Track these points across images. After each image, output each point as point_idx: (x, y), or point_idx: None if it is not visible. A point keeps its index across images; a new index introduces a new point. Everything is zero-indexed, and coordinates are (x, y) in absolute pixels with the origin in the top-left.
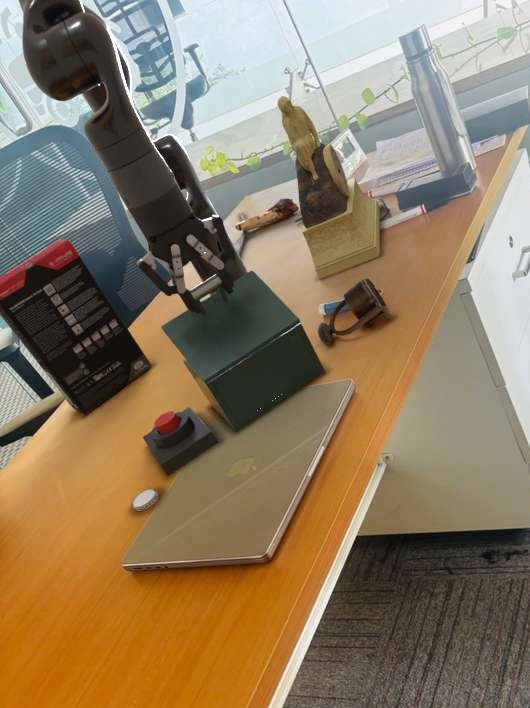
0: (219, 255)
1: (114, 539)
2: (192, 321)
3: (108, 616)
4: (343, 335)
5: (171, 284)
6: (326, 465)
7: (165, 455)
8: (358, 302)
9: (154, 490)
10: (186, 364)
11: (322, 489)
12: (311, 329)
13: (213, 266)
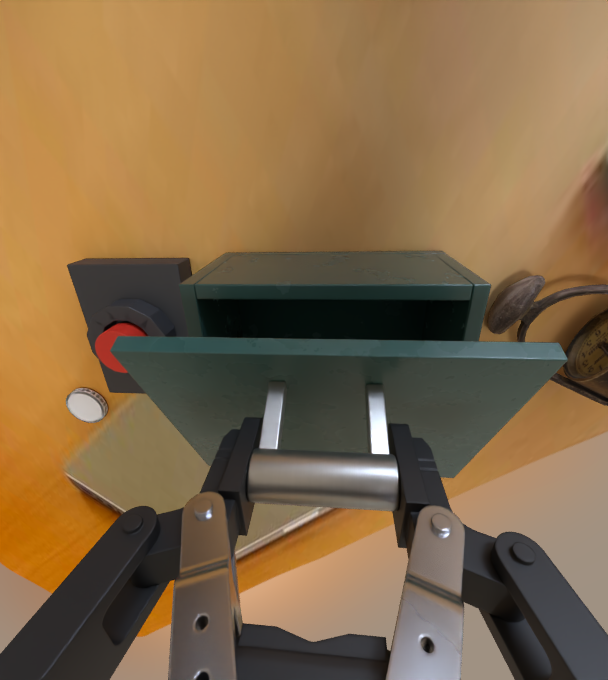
0: (474, 593)
1: (47, 428)
2: (231, 388)
3: (59, 516)
4: None
5: (172, 563)
6: (304, 534)
7: (119, 378)
8: (603, 392)
9: (100, 398)
10: (185, 316)
11: (284, 552)
12: (534, 192)
13: (413, 531)
